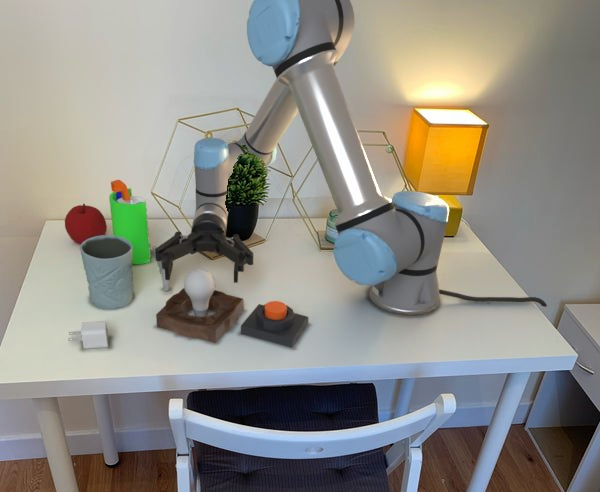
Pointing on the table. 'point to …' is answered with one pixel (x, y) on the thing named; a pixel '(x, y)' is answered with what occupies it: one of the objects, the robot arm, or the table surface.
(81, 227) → the apple
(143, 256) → the green-shelled ribbed roller
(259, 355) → the table surface
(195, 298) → the lightbulb
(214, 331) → the bulb stand
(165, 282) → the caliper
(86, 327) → the usb wall charger
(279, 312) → the test button
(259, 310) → the black button base
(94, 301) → the grey embossed cup
